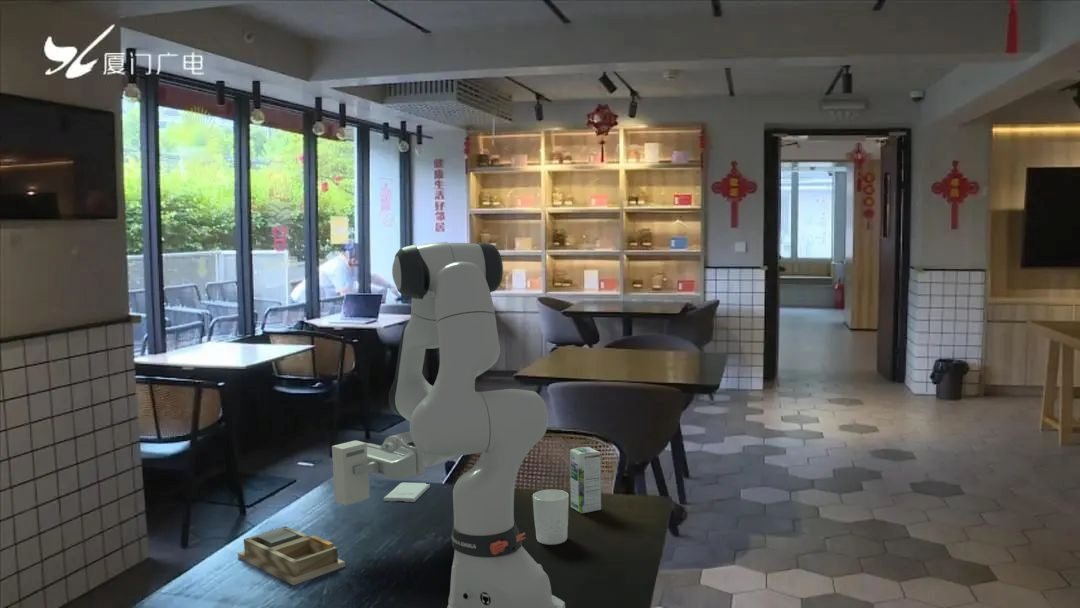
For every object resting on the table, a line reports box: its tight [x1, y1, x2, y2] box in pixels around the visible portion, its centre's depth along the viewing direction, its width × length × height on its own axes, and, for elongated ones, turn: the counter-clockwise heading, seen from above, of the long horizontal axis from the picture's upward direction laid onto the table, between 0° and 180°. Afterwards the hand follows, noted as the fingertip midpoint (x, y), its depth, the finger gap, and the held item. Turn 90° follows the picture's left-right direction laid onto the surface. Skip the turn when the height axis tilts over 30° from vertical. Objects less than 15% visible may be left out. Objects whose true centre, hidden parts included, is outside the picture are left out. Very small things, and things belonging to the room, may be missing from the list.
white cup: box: [532, 489, 570, 546], centre depth 189 cm, size 8×8×10 cm
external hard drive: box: [383, 482, 431, 503], centre depth 225 cm, size 2×8×12 cm
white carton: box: [331, 440, 371, 506], centre depth 183 cm, size 4×6×12 cm
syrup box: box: [569, 446, 602, 514], centre depth 208 cm, size 6×6×14 cm
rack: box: [237, 526, 346, 586], centre depth 181 cm, size 22×12×5 cm, turn 47°
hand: (346, 468), depth 182 cm, fingers closed on white carton, 4 cm apart
